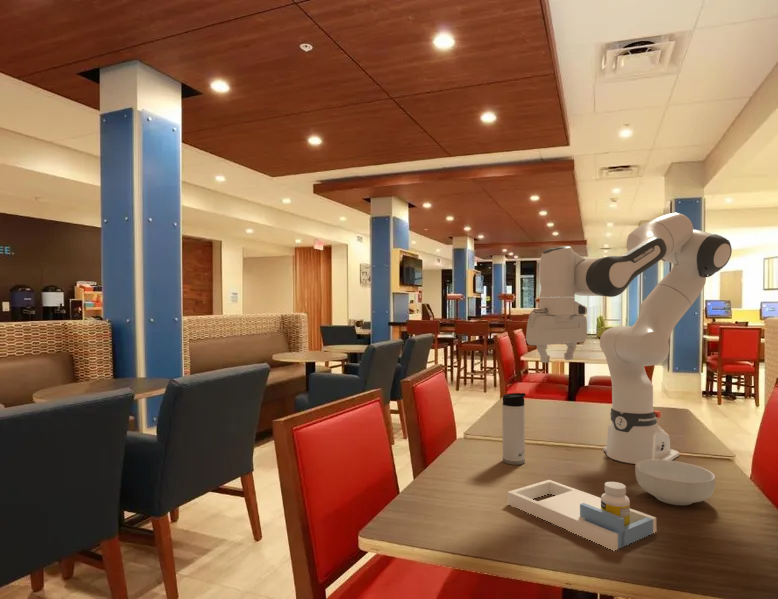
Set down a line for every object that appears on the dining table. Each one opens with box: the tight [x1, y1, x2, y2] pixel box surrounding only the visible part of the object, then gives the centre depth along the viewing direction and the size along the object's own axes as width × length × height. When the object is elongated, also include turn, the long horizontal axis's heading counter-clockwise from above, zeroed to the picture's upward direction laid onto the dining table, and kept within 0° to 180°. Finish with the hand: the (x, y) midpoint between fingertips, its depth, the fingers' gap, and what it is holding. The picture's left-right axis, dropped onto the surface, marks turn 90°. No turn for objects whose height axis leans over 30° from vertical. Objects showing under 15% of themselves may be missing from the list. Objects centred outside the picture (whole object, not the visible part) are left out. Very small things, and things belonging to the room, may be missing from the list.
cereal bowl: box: [634, 459, 716, 506], centre depth 124 cm, size 17×17×7 cm
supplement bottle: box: [600, 481, 631, 526], centre depth 106 cm, size 5×5×10 cm
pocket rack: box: [507, 479, 657, 552], centre depth 114 cm, size 14×27×6 cm, turn 33°
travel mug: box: [502, 392, 527, 466], centre depth 153 cm, size 6×7×20 cm
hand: (557, 361), depth 137 cm, fingers open, 8 cm apart
